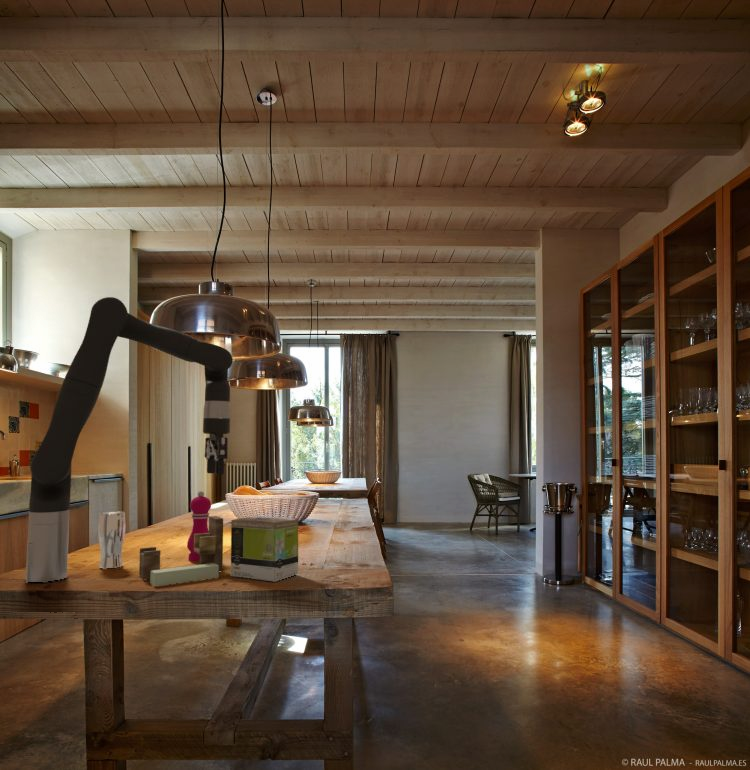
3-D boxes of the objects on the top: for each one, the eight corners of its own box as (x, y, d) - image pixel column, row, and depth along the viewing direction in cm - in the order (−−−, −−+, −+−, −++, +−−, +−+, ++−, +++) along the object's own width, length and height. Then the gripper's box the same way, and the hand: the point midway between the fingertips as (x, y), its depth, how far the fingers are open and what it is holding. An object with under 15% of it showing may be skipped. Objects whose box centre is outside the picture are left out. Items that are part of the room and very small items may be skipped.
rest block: (143, 580, 154) (144, 552, 155) (138, 575, 160) (139, 548, 160) (159, 578, 156) (160, 550, 157) (155, 573, 162) (155, 546, 162)
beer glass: (125, 563, 175) (126, 510, 176) (123, 568, 169) (125, 513, 170) (98, 565, 173) (100, 511, 174) (95, 570, 166) (97, 514, 168)
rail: (154, 588, 147) (154, 573, 148) (150, 585, 150) (150, 570, 151) (218, 579, 156) (218, 565, 157) (213, 576, 159) (213, 563, 160)
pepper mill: (215, 557, 184) (216, 490, 186) (206, 562, 177) (208, 492, 179) (192, 557, 185) (193, 490, 187) (182, 561, 178) (184, 492, 179)
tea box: (299, 575, 159) (299, 517, 160) (274, 583, 150) (274, 522, 152) (255, 569, 167) (256, 514, 168) (229, 576, 158) (229, 518, 159)
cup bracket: (199, 574, 161) (200, 520, 162) (193, 569, 167) (194, 517, 168) (222, 571, 164) (223, 518, 165) (215, 567, 170) (216, 515, 171)
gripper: (197, 417, 181) (195, 473, 180) (210, 416, 169) (209, 475, 167) (222, 418, 185) (220, 472, 183) (237, 416, 173) (235, 474, 171)
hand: (215, 473), depth 175 cm, fingers open, 8 cm apart
